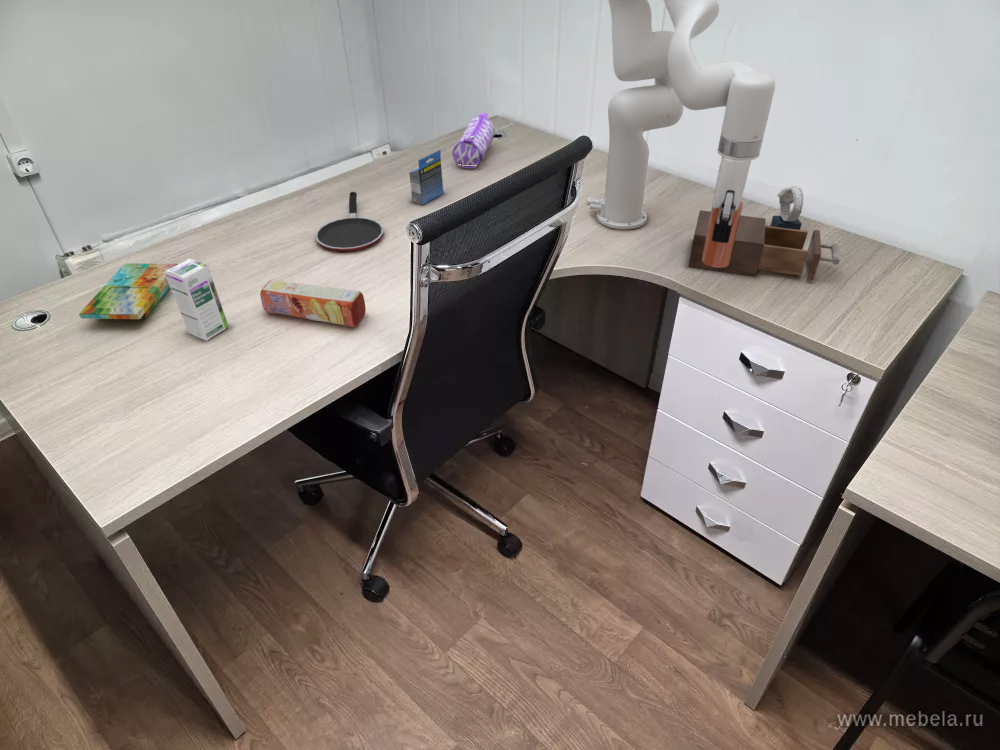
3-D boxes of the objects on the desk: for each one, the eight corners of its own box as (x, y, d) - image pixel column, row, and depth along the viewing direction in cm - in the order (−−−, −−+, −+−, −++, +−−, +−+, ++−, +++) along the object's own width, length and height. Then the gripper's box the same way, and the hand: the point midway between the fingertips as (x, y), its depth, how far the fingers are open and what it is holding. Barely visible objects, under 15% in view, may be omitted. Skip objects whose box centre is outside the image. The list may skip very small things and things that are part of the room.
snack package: (262, 316, 139) (254, 288, 135) (279, 299, 144) (272, 271, 140) (355, 332, 134) (350, 304, 130) (369, 314, 139) (365, 286, 135)
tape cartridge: (433, 190, 186) (429, 146, 178) (444, 194, 184) (441, 149, 176) (411, 202, 181) (407, 157, 173) (422, 205, 179) (418, 160, 171)
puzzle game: (176, 260, 148) (135, 310, 133) (183, 278, 151) (143, 330, 136) (124, 259, 149) (76, 310, 133) (132, 278, 152) (86, 329, 136)
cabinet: (757, 250, 158) (765, 218, 153) (755, 276, 149) (764, 244, 144) (693, 241, 162) (699, 210, 157) (688, 266, 153) (694, 234, 148)
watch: (789, 223, 168) (801, 181, 161) (800, 238, 162) (813, 195, 155) (767, 223, 168) (778, 181, 162) (777, 239, 162) (789, 195, 155)
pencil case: (482, 172, 196) (481, 139, 190) (451, 170, 197) (449, 137, 191) (495, 144, 212) (495, 113, 206) (466, 142, 214) (465, 112, 208)
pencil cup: (700, 265, 139) (712, 206, 131) (703, 252, 143) (714, 194, 135) (728, 269, 138) (742, 210, 129) (730, 256, 142) (743, 198, 133)
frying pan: (322, 204, 180) (319, 192, 178) (383, 200, 182) (382, 188, 180) (313, 256, 159) (311, 243, 156) (384, 250, 160) (382, 238, 158)
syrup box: (206, 342, 133) (183, 278, 123) (186, 333, 135) (162, 269, 126) (229, 327, 136) (208, 264, 127) (209, 319, 139) (188, 256, 130)
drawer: (832, 258, 153) (840, 232, 149) (834, 283, 145) (843, 257, 141) (750, 246, 158) (756, 222, 154) (748, 270, 149) (754, 245, 145)
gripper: (722, 128, 132) (706, 213, 144) (715, 160, 120) (697, 251, 131) (762, 131, 130) (742, 218, 142) (759, 165, 118) (737, 257, 129)
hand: (721, 233), depth 136 cm, fingers closed on pencil cup, 5 cm apart
